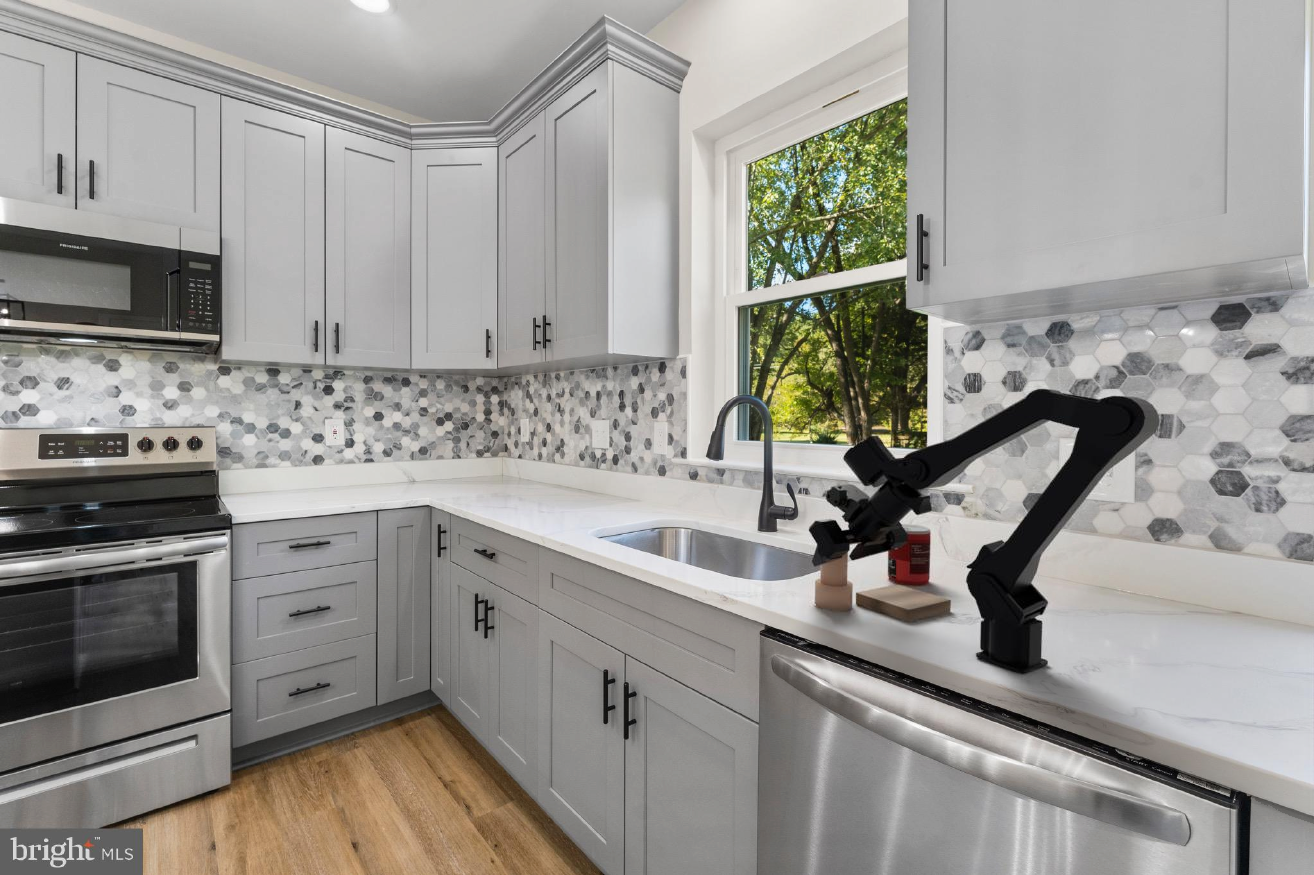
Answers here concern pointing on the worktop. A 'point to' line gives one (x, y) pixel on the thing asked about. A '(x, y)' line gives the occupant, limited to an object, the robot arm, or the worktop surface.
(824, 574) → the peach chess pawn
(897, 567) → the canned food
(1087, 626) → the worktop surface
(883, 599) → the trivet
